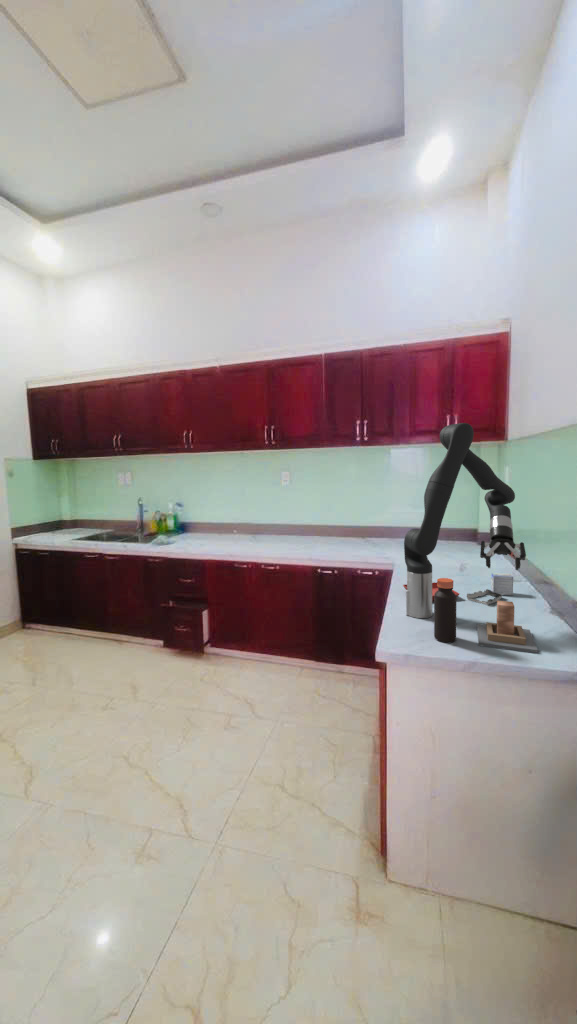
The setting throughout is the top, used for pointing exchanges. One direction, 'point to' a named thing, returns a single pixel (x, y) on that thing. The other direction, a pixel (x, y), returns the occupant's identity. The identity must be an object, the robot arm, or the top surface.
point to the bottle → (445, 611)
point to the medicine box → (502, 583)
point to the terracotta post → (505, 617)
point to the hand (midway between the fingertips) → (503, 568)
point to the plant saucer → (434, 590)
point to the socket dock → (506, 638)
